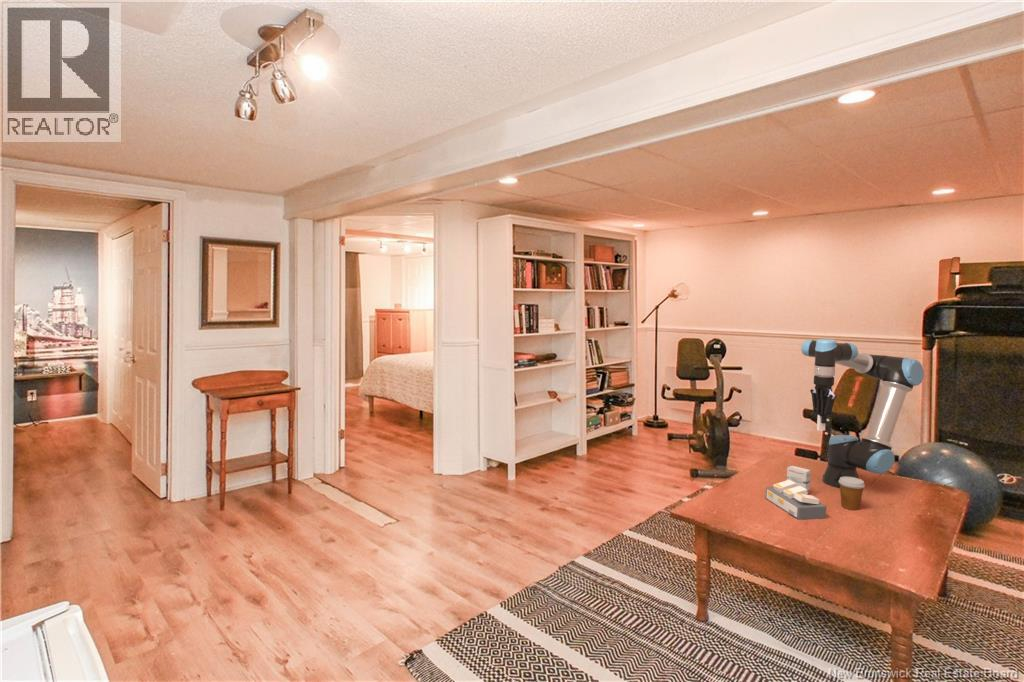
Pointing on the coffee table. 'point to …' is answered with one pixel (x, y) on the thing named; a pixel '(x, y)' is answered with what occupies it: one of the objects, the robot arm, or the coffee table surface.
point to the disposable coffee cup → (851, 492)
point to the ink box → (799, 477)
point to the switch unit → (796, 506)
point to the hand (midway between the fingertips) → (820, 430)
